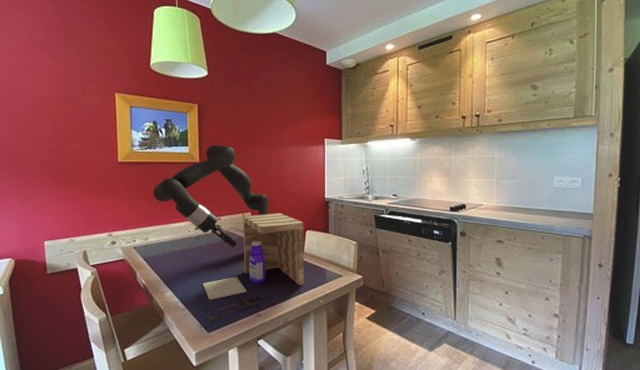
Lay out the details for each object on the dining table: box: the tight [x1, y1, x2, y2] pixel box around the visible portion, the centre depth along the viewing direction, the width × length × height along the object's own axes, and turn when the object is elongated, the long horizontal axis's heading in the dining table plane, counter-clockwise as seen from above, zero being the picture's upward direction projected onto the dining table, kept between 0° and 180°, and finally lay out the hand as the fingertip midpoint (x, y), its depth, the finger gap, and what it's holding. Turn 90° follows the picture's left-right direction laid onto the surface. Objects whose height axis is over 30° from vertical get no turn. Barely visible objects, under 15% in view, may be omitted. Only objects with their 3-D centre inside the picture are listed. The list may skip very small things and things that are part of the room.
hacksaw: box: [199, 295, 263, 329], centre depth 102 cm, size 24×10×2 cm, turn 124°
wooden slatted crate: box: [242, 212, 305, 286], centre depth 130 cm, size 26×18×26 cm
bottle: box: [248, 241, 266, 285], centre depth 127 cm, size 7×6×17 cm
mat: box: [202, 276, 247, 300], centre depth 121 cm, size 16×14×1 cm
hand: (232, 242), depth 121 cm, fingers open, 8 cm apart
